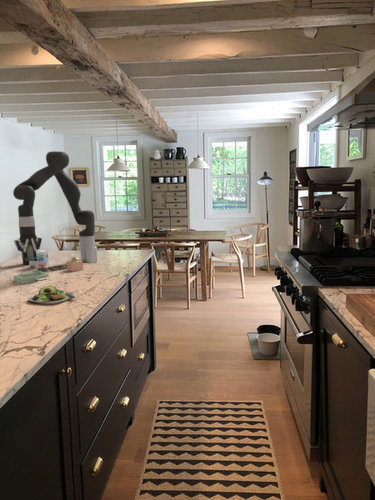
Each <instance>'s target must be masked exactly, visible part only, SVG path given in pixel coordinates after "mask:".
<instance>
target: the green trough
mask: <svg viewBox="0 0 375 500" xmlns="http://www.w3.org/2000/svg"><path fill="white" fill-rule="evenodd" d="M48 277H49V272H47V273H45V272H41V271H38V272H32V271H31V272H28V273H27V272H26V273H22V274H16V275H13V281H14V282H15V283H17V284H20V285H26V284H33V283H38V282H43V281H47V280H48V279H47V278H48ZM44 278H45V279H44ZM40 279H41V280H40Z"/></svg>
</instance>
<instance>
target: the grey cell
mask: <svg viewBox="0 0 375 500" xmlns="http://www.w3.org/2000/svg"><path fill="white" fill-rule="evenodd" d="M26 254H27V259H26V261H33V260H34V253H33V246H31V245H27V248H26Z"/></svg>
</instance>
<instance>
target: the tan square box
mask: <svg viewBox="0 0 375 500" xmlns="http://www.w3.org/2000/svg"><path fill="white" fill-rule="evenodd" d="M83 263H84V262H83V261H82V260H81V259H79V261H75V262H71V259H70V260H66V267H67V269H66V270H67V271H69V272H77V271H78V272H79V271H83V270H84V266H83V265H84V264H83Z"/></svg>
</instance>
